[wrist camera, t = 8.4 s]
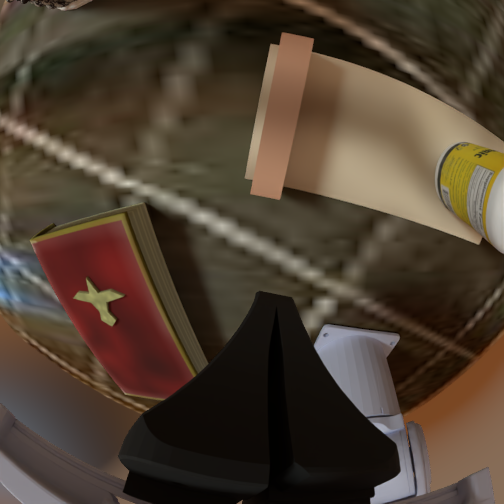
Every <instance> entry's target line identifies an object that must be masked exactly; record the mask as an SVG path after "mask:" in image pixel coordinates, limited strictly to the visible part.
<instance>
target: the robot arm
mask: <svg viewBox="0 0 504 504" xmlns="http://www.w3.org/2000/svg"><path fill="white" fill-rule="evenodd" d="M325 333H328V334H325ZM399 339H400V336H399V334H397V333H389V332H381V331H373V330H365V329H358V328H351V327H344V326H337V325H330V324H327V325H325V326H323V328H322V330H321V332H320V334H319V336H318V338H317V340H316V342H315V344H314V346H313V344H312V342H311V340H310V338H309V335H308V333H307V331H306V329H305V327H304V325H303V323H302V320H301V318H300V316H299V313H298V311H297V308H296V305H295V303H294V300H293V299H292V297H288V296H282V295H277V294H272V293H267V292H262V291H259V292H257V293H256V295H255V299H254V302H253V304H252V306H251V308H250V310H249V312H248V314H247V316H246V317H245V319H244V321H243V322H242V324H241V325H240V327H239V328H238V330H237V331H236V332H235V334H234V335H233V336H232V338H231V339H230V340H229V342H228V343H227V344H226V345H225V347H224V348H223V349H222V350H221V351H220V352H219V353H218V354H217V356H216V357H215V358H214V359H213V360H212V361H211V362H210V363H209V364H208V365H207V366H206V367H205V368H204V369H203V370H201V371H200V372H199V373H198V374H197V375H196V376H195V377H194V378H193V379H191V380H190V381H189V382H188V383H186V384H185V385H184V386H182V387H181V388H180V389H179V390H177V391H176V392H175V393H173V394H172V395H171V396H169V397H168V398H166V399H165V400H163V401H162V402H160V403H158V404H157V405H155V406H154V407H152V408H150V409H149V410H147V411H146V412H144V413H143V414H142V415H141V416H140V417H139V418H138V420H137V421H136V422H135V423H134V425H133V426H132V428H131V429H130V430H129V432H128V434H127V436H126V437H125V439H124V442H123V444H122V447H121V450H120V452H119V455H118V457H119V459H120V461H121V463H122V464H123V465H124V466H125V467H126V468H127V469H128V470H129V474H128V477H127V480H126V481H124V480H122V479H120V478H117V477H115V476H112V475H110V474H108V473H106V472H103V471H101V470H99V469H97V468H95V467H93V466H91V465H89V464H87V463H85V462H83V461H81V460H79V459H77V458H75V457H73V456H72V455H70V454H68V453H66V452H65V451H63V450H61V449H60V448H58V447H56V446H55V445H53V444H51V443H50V442H48V441H47V440H45V439H44V438H42V437H40V436H39V435H38V434H36V433H35V432H33V431H32V430H30V429H29V428H28V427H26V426H25V425H23V424H22V423H21V422H20V421H18V420H17V419H16V418H15V416H14V415H13V414H12V413H11V412H10V411H9V410H8V409H7V408H5V406H3V405H2V404H1V403H0V482H1V483H2V485H4V486H5V487H6V489H7V490H9V491H10V492H11V493H12V494H13V495H14V496H15V497H16V498H17V499H18V500H19V501H20V502H21V503H23V504H120V503H119V502H118V499H117V498H116V496H118V497H120V498H122V499H125V500H128V501H130V502H133V503H135V504H237V503H238V502H240V501H241V500H243V501H242V504H495V500H494V493H493V487H492V481H491V476H490V472H489V467H486V468H484V469H482V470H480V471H478V472H476V473H473V474H471V475H469V476H467V477H466V478H464V479H462V480H460V481H458V483H455V484H452V485H450V486H447V487H444V488H442V489H439V490H436V491H433V492H430V484H431V470H430V463H429V456H428V451H427V446H426V441H425V437H424V434H423V430H422V427H421V425H419V424H417V423H414V421H411V422H408V423H406V424H407V429H408V439H409V445H410V447H409V445H408V440H407V435H406V430H405V425H404V421H403V416H402V414H401V413H400V408H399V404H398V400H397V396H396V392H395V388H394V384H393V380H392V377H391V373H390V369H389V366H388V362H387V359H386V358H387V356H388V355H389V354H390V352H391V351H392V349H393V348H394V347H395V345H396V344H397V342H398V341H399ZM413 472H414V476H413ZM114 495H115V496H114Z"/></svg>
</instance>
